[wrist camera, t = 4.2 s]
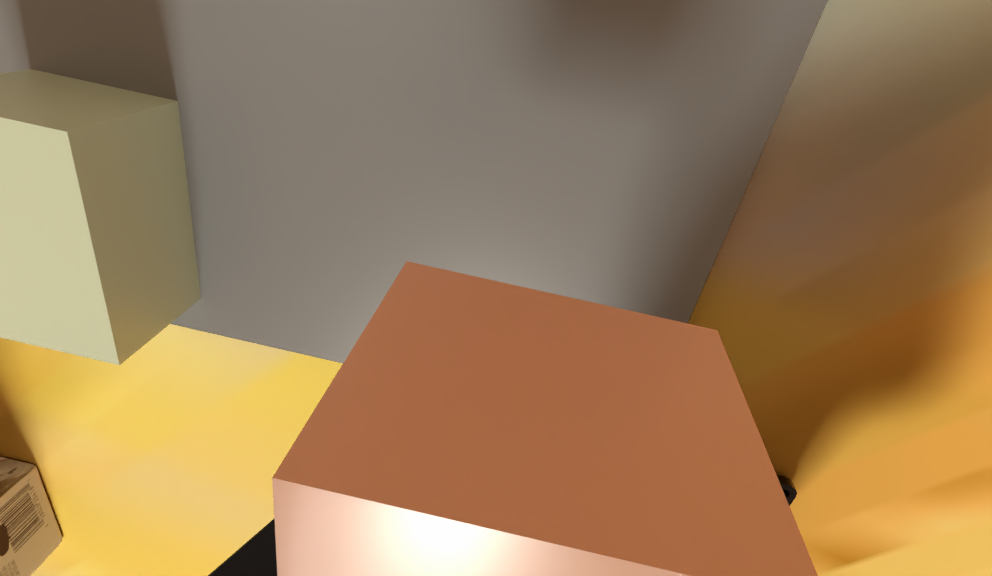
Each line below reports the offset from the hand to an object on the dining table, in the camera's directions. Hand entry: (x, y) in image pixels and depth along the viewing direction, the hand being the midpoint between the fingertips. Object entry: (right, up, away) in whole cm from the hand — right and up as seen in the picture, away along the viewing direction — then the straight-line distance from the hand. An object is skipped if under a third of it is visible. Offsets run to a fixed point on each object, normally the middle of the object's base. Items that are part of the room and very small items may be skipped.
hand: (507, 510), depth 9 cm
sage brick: (-13, +7, +9) cm, 17 cm away
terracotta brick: (0, +1, +1) cm, 1 cm away
